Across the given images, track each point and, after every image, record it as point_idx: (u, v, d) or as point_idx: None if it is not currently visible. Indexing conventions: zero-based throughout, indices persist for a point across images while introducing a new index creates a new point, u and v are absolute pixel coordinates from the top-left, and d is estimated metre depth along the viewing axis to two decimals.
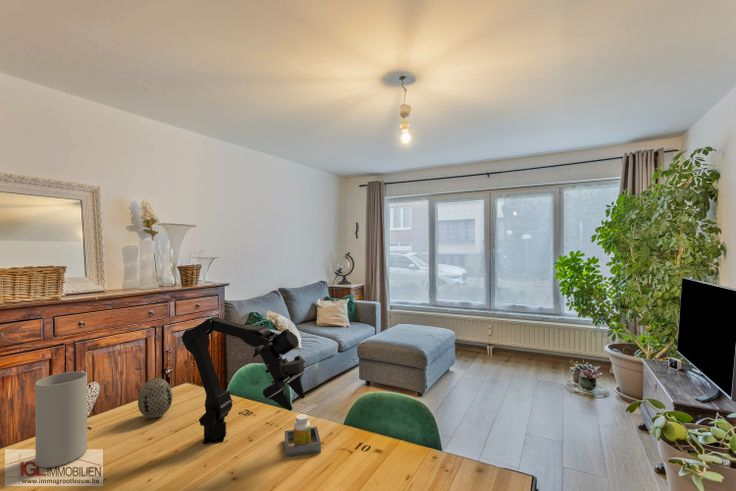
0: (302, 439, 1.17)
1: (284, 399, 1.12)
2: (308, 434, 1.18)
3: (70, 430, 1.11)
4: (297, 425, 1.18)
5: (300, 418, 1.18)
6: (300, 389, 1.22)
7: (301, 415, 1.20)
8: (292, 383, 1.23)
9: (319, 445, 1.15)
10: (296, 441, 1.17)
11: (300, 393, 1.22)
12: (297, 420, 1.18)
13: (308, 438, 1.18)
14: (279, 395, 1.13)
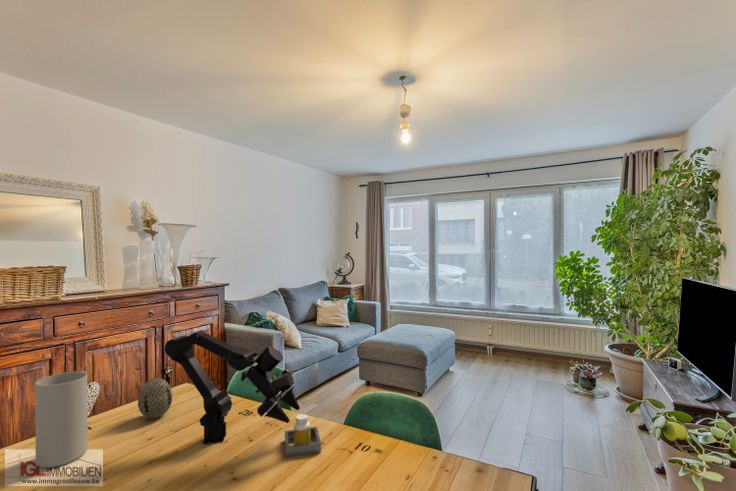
0: (302, 439, 1.17)
1: (280, 413, 1.15)
2: (308, 434, 1.18)
3: (70, 430, 1.11)
4: (297, 425, 1.18)
5: (300, 418, 1.18)
6: (294, 401, 1.25)
7: (301, 415, 1.20)
8: (285, 398, 1.26)
9: (319, 445, 1.15)
10: (296, 441, 1.17)
11: (295, 405, 1.25)
12: (297, 420, 1.18)
13: (308, 438, 1.18)
14: (274, 410, 1.15)
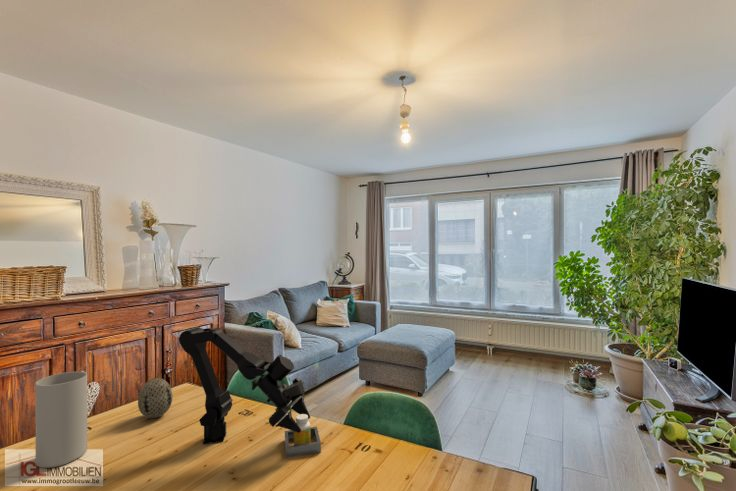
0: (302, 439, 1.17)
1: (291, 423, 1.14)
2: (308, 434, 1.18)
3: (70, 430, 1.11)
4: None
5: (300, 418, 1.18)
6: (304, 410, 1.24)
7: (301, 415, 1.20)
8: (295, 406, 1.25)
9: (319, 445, 1.15)
10: (296, 441, 1.17)
11: None
12: (297, 420, 1.18)
13: (308, 438, 1.18)
14: (285, 420, 1.14)
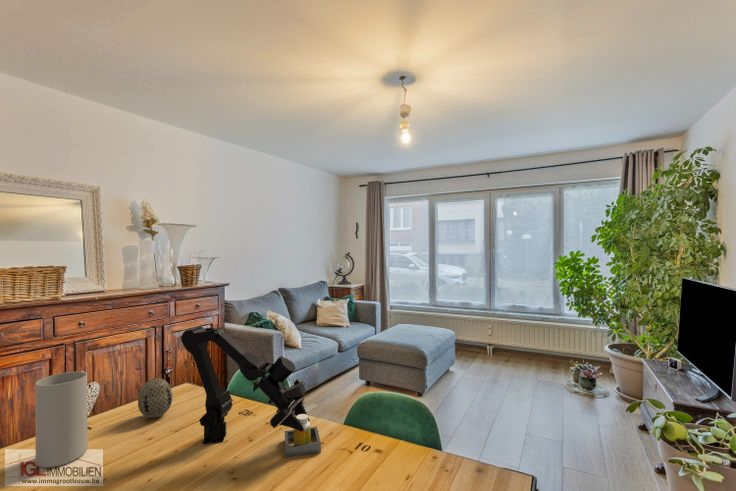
0: (302, 439, 1.17)
1: (294, 421, 1.16)
2: (308, 434, 1.18)
3: (70, 430, 1.11)
4: None
5: (300, 418, 1.18)
6: None
7: (301, 415, 1.20)
8: (295, 410, 1.23)
9: (319, 445, 1.15)
10: (296, 441, 1.17)
11: None
12: None
13: (308, 438, 1.18)
14: (289, 419, 1.16)
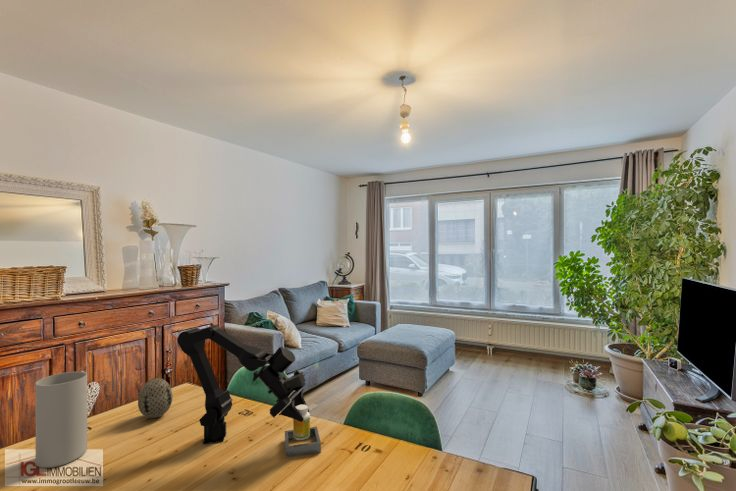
0: (302, 430, 1.17)
1: (294, 412, 1.16)
2: (307, 424, 1.18)
3: (70, 430, 1.11)
4: None
5: (300, 408, 1.18)
6: (303, 404, 1.22)
7: (301, 405, 1.20)
8: (294, 401, 1.23)
9: (319, 445, 1.15)
10: (295, 431, 1.17)
11: None
12: None
13: (307, 428, 1.18)
14: (288, 409, 1.16)
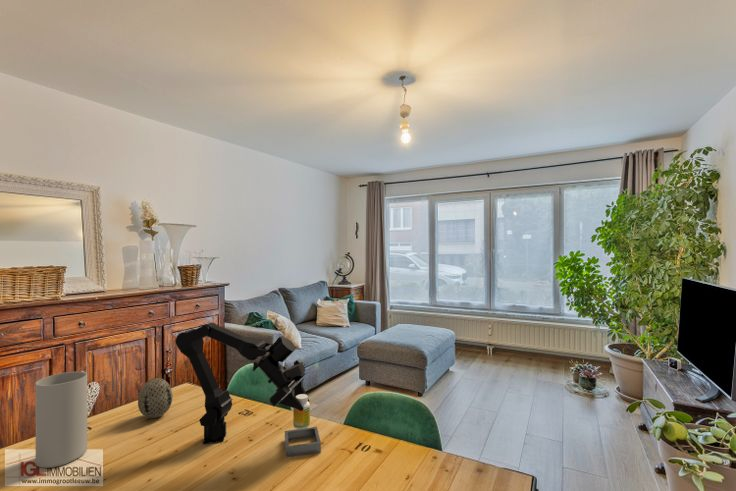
0: (302, 419, 1.17)
1: (294, 401, 1.16)
2: (307, 414, 1.18)
3: (70, 430, 1.11)
4: None
5: (300, 398, 1.18)
6: None
7: (301, 395, 1.20)
8: (294, 390, 1.23)
9: (319, 445, 1.15)
10: (295, 420, 1.17)
11: None
12: None
13: (307, 418, 1.18)
14: (288, 398, 1.16)
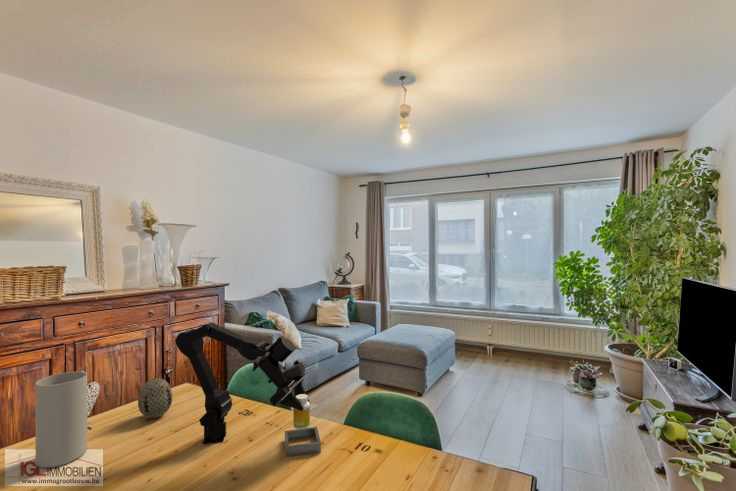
0: (302, 419, 1.17)
1: (294, 401, 1.16)
2: (307, 414, 1.18)
3: (70, 430, 1.11)
4: None
5: (300, 398, 1.18)
6: None
7: (301, 395, 1.20)
8: (294, 390, 1.23)
9: (319, 445, 1.15)
10: (295, 420, 1.17)
11: None
12: None
13: (307, 418, 1.18)
14: (288, 398, 1.16)
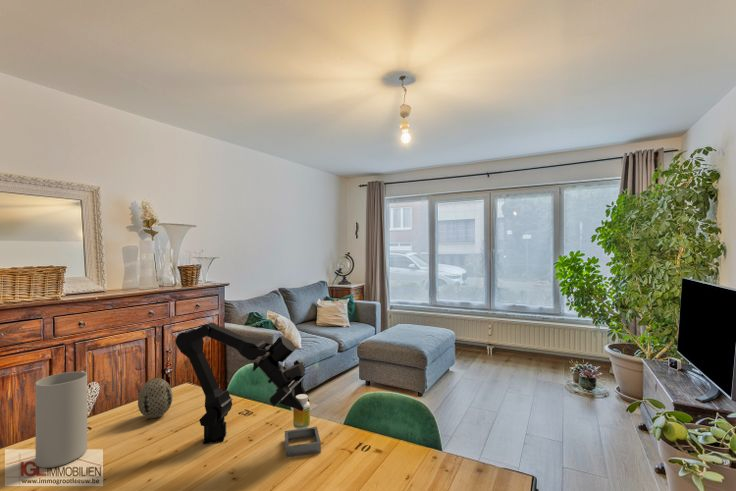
0: (302, 419, 1.17)
1: (294, 401, 1.16)
2: (307, 414, 1.18)
3: (70, 430, 1.11)
4: None
5: (300, 398, 1.18)
6: None
7: (301, 395, 1.20)
8: (294, 390, 1.23)
9: (319, 445, 1.15)
10: (295, 420, 1.17)
11: None
12: None
13: (307, 418, 1.18)
14: (288, 398, 1.16)
